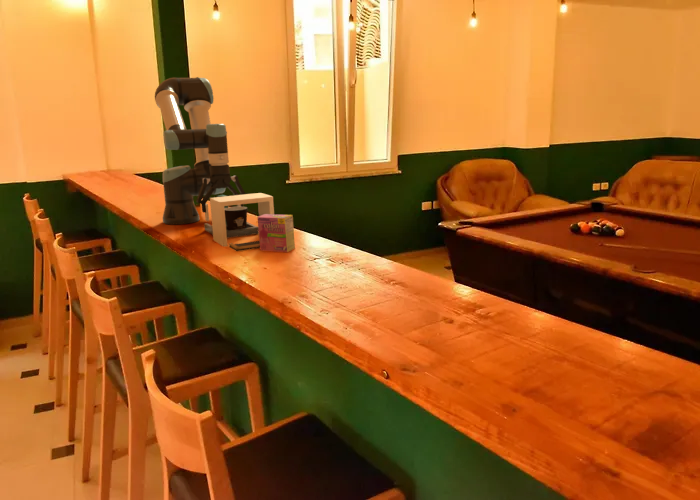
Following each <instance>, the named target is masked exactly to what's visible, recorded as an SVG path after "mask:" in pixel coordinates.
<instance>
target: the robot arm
mask: <svg viewBox="0 0 700 500" xmlns="http://www.w3.org/2000/svg"><path fill="white" fill-rule="evenodd" d="M154 102H155V104H156V106H157V108H159V109H160V113H161V117H162V119H163V123H164V126H165V127H164V128H165V130H164V131H163V143H164V147H165V149H166V150H175V151H178V150H179V151H180V150H191V149H194V152H195V158H196V159H195V160H196V162H195V163H194V165H193V167H194V168H191V166H190V165H179V166H174V167H168V168H166V169H164V170H163V171H162V183H163V193H164V195H163V196H164V202H165V205H164V210H163V214H162V223H163V224H164V223H165V225H185V224H192V223H197V222H199V221H200V215H199V212H198V210H197V207H196V204H195V202H194V197H195V196H196V200H195V201H196V203H198V204H200V205H201V211H202V213H204V218H205V221H207V222H209V221H210V215H209V204H207V202H208V201H209V200H210V198H211V196H212V195H214V196H215V195H219V194H220V195H221V194H223V193H225V191H226V189H228V190H229V191H230V192H231V193H232V195H233V196H234V195H244V194H246V192H245V190H244V189H243V187H242V184H241V183H240V180H239V176H238V175H233V176H231V173H230V172H231V171H230V164H229V162H230V160H229V149H228V135H227V134H228V131H227V127H226V126H227V125H225V124H224V123H211V120H210V119H211V118H210V112H209V110H210V109H211V107H212V105H213V104H214V93H213V88H212V85H211V82H210V81H209V80H208V79H207V78H205V77H199V76H197V77H169V78H167V79H164V80H163V81H162V82H161V83H160V84H158V86H157V88H156V89H155V92H154ZM180 106H183V108H184V110H185V112H187V113H188V117H189V123H190V128H191V129H187V126H186V124H185V122H184V118H183V115H182V111H181V109H180ZM231 181H232V182H234V185H235V186H236V188H237V190H238V191H239V193H238V192H237V190H236V189H235V188H234V187H233V186H232V184H231V183H230V182H231ZM236 207H244V204H239V205H236Z"/></svg>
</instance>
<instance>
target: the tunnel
mask: <svg viewBox="0 0 700 500" xmlns="http://www.w3.org/2000/svg"><path fill="white" fill-rule="evenodd" d="M239 204H243V205H247V204H257V207H258V217H259V216H261V215H264V214H275V207H274V206H275V204H274V196H272V195H270V194H266V193H262V192H258V193H255V192H254V193H245V194H244V195H241V194H239V195H234V194H233V195H226V196H224V197H217V196H216V197H215V196H214V197H210V198H209V205H210V215H211V226H212V228H213V235H212V237H213V238H212V239H213V241H214V242H215V243H217V244H218V245H220V246H222V247H228V238H227V234H226V222H225V210H224V206H228V207H229V206H230V207H231V206H237V205H239Z"/></svg>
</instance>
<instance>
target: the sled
mask: <svg viewBox="0 0 700 500" xmlns="http://www.w3.org/2000/svg"><path fill="white" fill-rule="evenodd" d="M224 196H227V195H225V194H220V195H219V194H217V195H216V197H224ZM228 207H229V206H224V209H225V208H228ZM225 222H226V219H225ZM226 227H227V222H226ZM204 231H206V232H208V233H209V234H210V235H212V236H213V228H212V224H210V223H207V222H206V223H204ZM226 234H227V239H230V238H235V237H242V236H243V237H244V236H249V235H257V234H258V235H259V230H258V225H255V224H252V223H250V222H249V221H247V225H246V228H243V229H235V230H228V229H227V228H226Z"/></svg>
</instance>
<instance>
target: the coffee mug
mask: <svg viewBox="0 0 700 500" xmlns="http://www.w3.org/2000/svg"><path fill="white" fill-rule="evenodd" d="M224 210H225V219H226V222H227V227H226V228H227V229H228V230H235V229H243V228H246V225H247V222H248V220H247V219H248V207H247V206H243V207H237V206H230V207H229V206H228V208H225V209H224Z"/></svg>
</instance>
